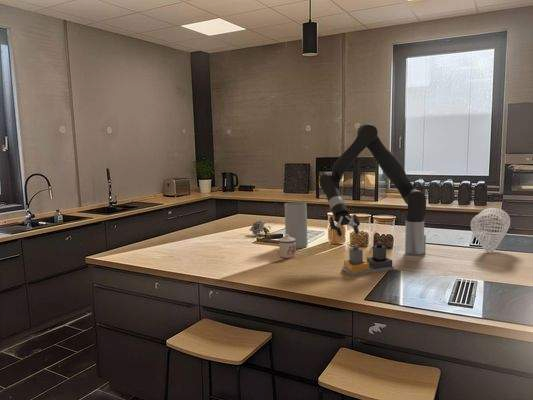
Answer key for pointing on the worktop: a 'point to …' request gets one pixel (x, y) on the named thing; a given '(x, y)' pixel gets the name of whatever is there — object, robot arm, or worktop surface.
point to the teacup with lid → (287, 247)
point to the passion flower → (259, 228)
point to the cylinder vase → (296, 223)
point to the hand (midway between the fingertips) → (349, 234)
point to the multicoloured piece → (370, 263)
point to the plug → (356, 255)
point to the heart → (499, 238)
